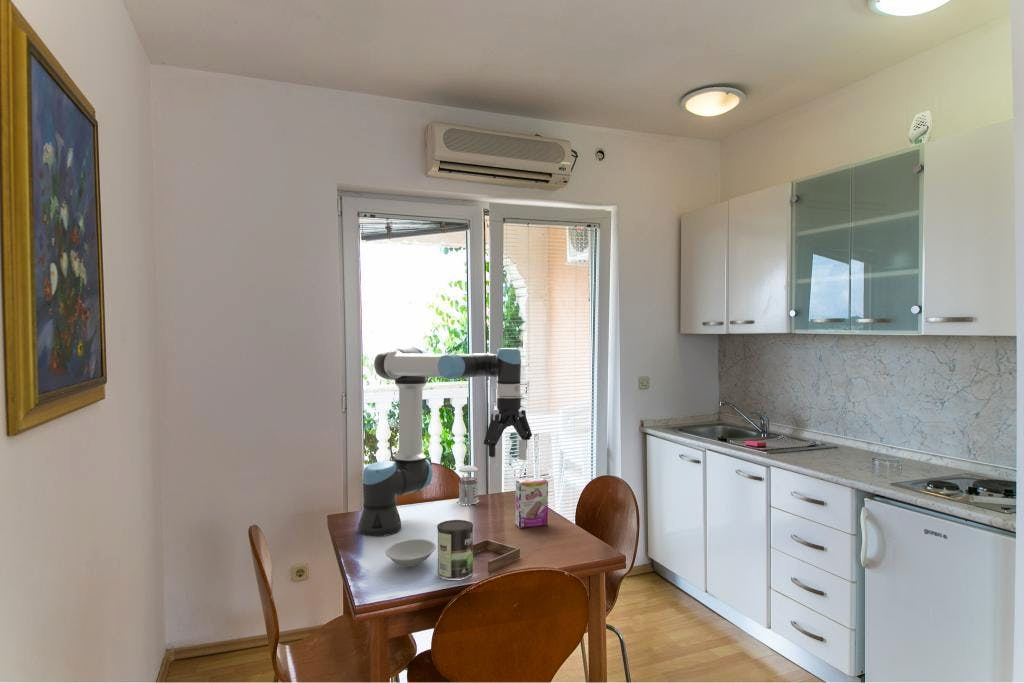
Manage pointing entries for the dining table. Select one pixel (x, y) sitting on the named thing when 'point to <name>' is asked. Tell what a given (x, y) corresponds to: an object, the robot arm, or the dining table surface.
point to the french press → (468, 485)
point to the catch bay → (508, 551)
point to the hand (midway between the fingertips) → (508, 463)
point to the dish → (410, 551)
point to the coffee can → (455, 549)
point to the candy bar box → (531, 503)
